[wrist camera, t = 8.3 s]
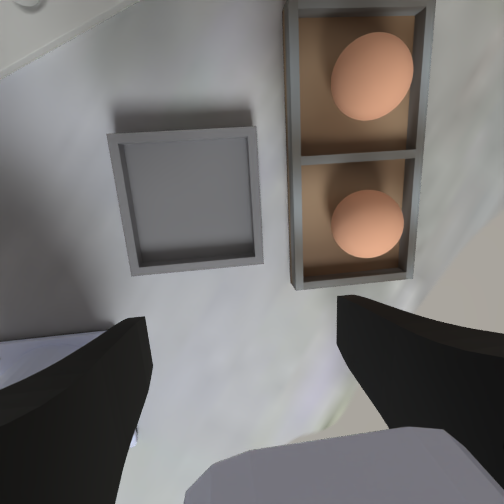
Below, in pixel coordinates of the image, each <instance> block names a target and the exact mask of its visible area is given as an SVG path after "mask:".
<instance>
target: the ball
mask: <svg viewBox="0 0 504 504" xmlns="http://www.w3.org/2000/svg"><path fill="white" fill-rule="evenodd" d="M412 78H413V60H412V56H411V53H410V51H409V49H408V47H407V46H406V44H405V43H404V42H403V41H402V40H401V39H400V38H398V37H397V36H395V35H392V34H390V33H385V32H374V33H369V34H366V35H363V36H361V37H359V38H357V39H356V40H354V41H353V42H352V43H350V44H349V45H348V46H347V47H346V48H345V49H344V50H343V52H342V53H341V54H340V56H339V57H338V59H337V61H336V63H335V66H334V68H333V71H332V76H331V93H332V97H333V100H334V102H335V104H336V105H337V107H338V108H339V110H340V111H341V112H342V113H344V114H345V115H346V116H348V117H350V118H352V119H355V120H361V121H368V120H374V119H378V118H380V117H382V116H385V115H386V114H388V113H390V112H391V111H392V110H393V109H395V108H396V107H397V106H398V105H399V104H400V102H401V101H402V100H403V99H404V97H405V95H406V94H407V92H408V90H409V88H410V85H411V82H412Z"/></svg>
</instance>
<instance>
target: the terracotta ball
mask: <svg viewBox="0 0 504 504" xmlns="http://www.w3.org/2000/svg"><path fill="white" fill-rule="evenodd" d="M403 228H404V218H403V213H402V211H401V209H400V207H399V205H398V204H397V202H396V201H395V200H394V199H393V198H392V197H390V196H389V195H387V194H385V193H383V192H380V191H377V190H361V191H357V192H354V193H352V194H350V195H348V196H347V197H345V198H344V199H343V200H342V201H341V202H340V203H339V204H338V205H337V207H336V209H335V210H334V213H333V216H332V220H331V230H332V234H333V237H334V239H335V241H336V243H337V244H338V245H339V247H340V248H341V249H343V250H344V251H345V252H347V253H348V254H350V255H353V256H355V257H360V258H373V257H377V256H380V255H383V254H385V253H386V252H388V251H389V250H391V249H392V248H393V247H394V246H395V245H396V244H397V242H398V241H399V239H400V237H401V235H402V232H403Z"/></svg>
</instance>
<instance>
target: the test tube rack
mask: <svg viewBox="0 0 504 504" xmlns="http://www.w3.org/2000/svg"><path fill="white" fill-rule="evenodd" d="M139 1H141V0H0V80H2V79H3V78H5V77H7V76H9V75H10V74H12V73H14V72H16V71H17V70H19V69H21V68H23V67H24V66H26V65H28V64H30V63H31V62H33V61H35V60H37V59H39V58H40V57H42V56H44V55H46V54H47V53H49V52H51V51H53V50H54V49H56V48H58V47H60V46H61V45H63V44H65V43H67V42H68V41H70V40H72V39H74V38H75V37H77V36H79V35H81V34H83V33H84V32H86V31H88V30H90V29H91V28H93V27H95V26H97V25H98V24H100V23H102V22H104V21H105V20H107V19H109V18H111V17H112V16H114V15H116V14H118V13H119V12H121V11H123V10H125V9H127V8H128V7H130V6H132V5H134V4H135V3H137V2H139Z"/></svg>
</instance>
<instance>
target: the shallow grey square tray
mask: <svg viewBox="0 0 504 504" xmlns="http://www.w3.org/2000/svg"><path fill="white" fill-rule="evenodd" d="M107 140H108V146H109V151H110V157H111V163H112V168H113V174H114V179H115V185H116V191H117V196H118V202H119V208H120V213H121V219H122V225H123V230H124V236H125V242H126V247H127V253H128V259H129V264H130V270H131V276H140V275H151V274H161V273H172V272H183V271H194V270H204V269H215V268H226V267H236V266H247V265H258V264H264V259H263V241H262V222H261V204H260V186H259V168H258V149H257V131H256V126H249V127H230V128H211V129H192V130H173V131H153V132H134V133H115V134H107Z"/></svg>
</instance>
